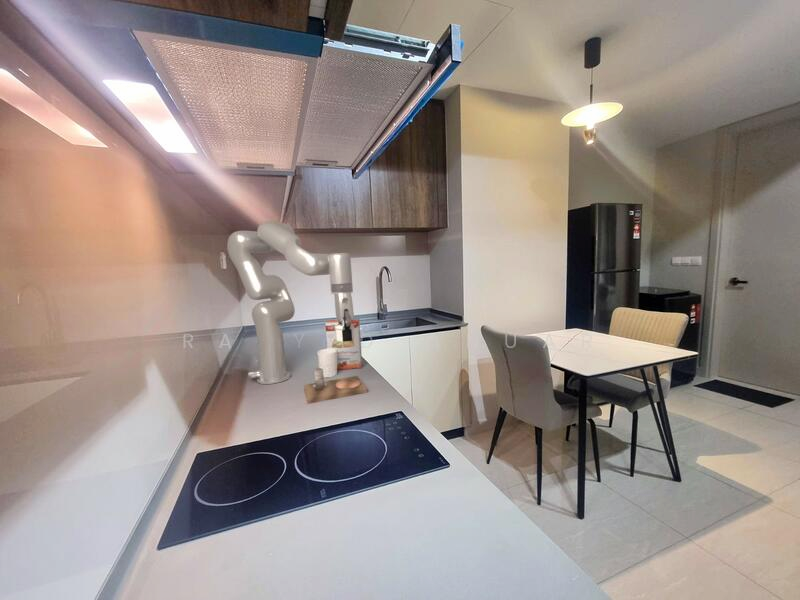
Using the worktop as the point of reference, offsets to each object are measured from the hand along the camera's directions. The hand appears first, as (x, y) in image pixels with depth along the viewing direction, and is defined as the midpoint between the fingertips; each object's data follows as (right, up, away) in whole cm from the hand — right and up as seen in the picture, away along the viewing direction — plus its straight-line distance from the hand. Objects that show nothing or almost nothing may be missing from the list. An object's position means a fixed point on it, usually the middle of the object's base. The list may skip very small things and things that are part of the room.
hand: (345, 338), depth 113 cm
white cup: (-10, -17, +17) cm, 26 cm away
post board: (-4, -19, 0) cm, 19 cm away
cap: (0, 0, 0) cm, 0 cm away
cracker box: (-4, -16, +26) cm, 31 cm away
